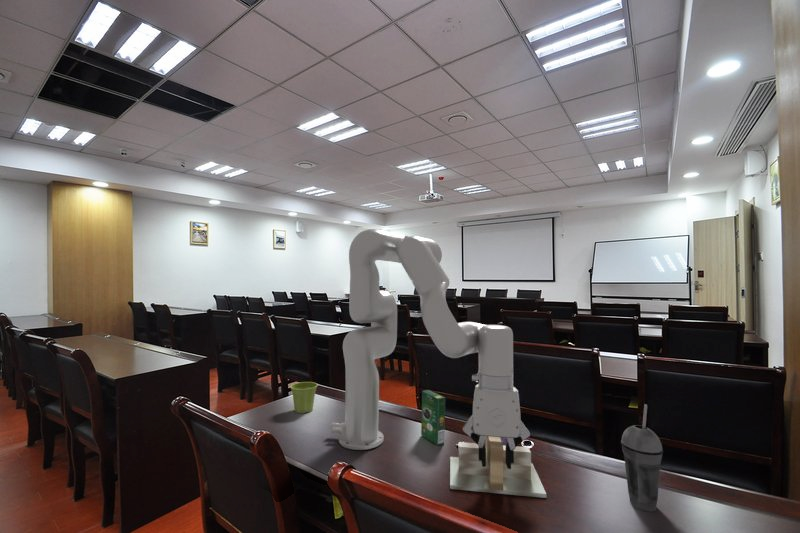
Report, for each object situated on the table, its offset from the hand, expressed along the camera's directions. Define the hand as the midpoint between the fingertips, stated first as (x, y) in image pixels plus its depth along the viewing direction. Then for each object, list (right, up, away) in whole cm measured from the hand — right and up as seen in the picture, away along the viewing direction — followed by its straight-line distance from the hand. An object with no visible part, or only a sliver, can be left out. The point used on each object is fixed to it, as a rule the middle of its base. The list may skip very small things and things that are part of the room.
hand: (495, 464), depth 78 cm
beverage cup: (+28, -5, -6) cm, 29 cm away
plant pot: (-55, -7, +46) cm, 72 cm away
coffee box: (-12, -6, +23) cm, 27 cm away
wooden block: (0, -4, +3) cm, 5 cm away
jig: (+1, -5, +4) cm, 6 cm away
